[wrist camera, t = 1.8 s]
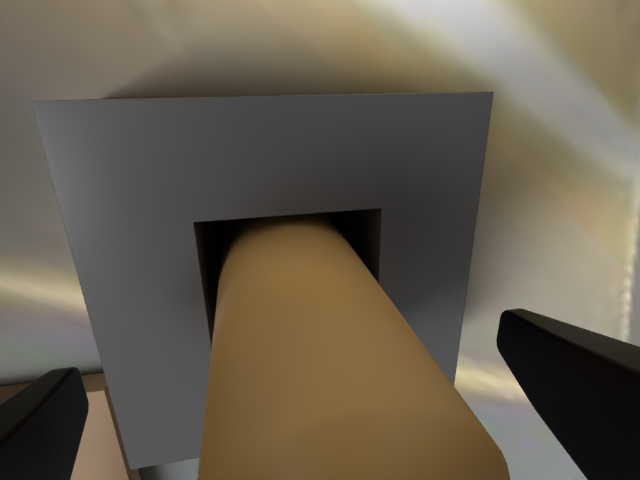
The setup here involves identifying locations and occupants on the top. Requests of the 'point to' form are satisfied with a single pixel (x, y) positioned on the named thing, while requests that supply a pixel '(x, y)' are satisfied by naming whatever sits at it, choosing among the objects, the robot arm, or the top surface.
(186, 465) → the top surface
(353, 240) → the socket block
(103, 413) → the tan square tile
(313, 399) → the amber plug
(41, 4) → the top surface
